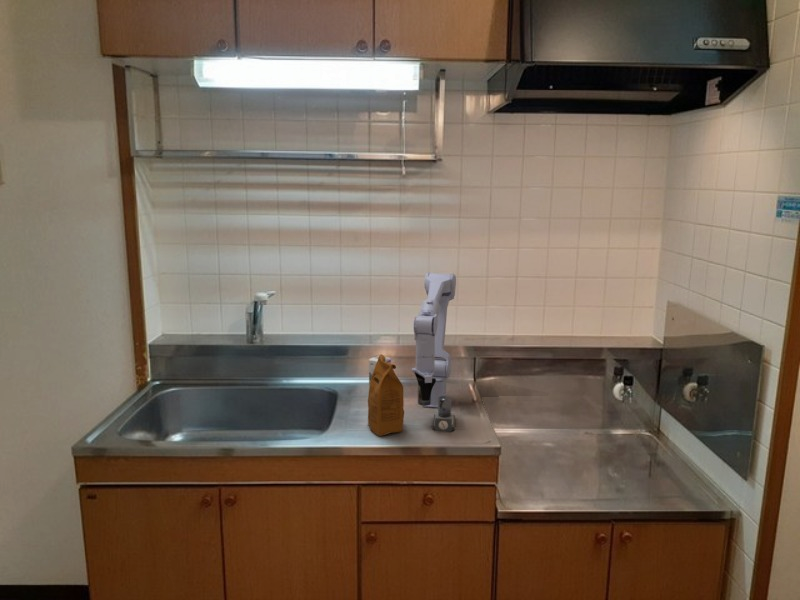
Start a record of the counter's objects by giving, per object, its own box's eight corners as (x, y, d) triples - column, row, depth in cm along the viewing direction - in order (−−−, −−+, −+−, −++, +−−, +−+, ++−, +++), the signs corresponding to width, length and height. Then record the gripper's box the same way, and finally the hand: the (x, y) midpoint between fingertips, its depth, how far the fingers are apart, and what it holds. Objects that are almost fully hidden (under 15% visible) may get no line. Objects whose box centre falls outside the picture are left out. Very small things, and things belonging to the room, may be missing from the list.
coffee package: (394, 418, 186) (394, 351, 181) (407, 434, 174) (407, 363, 170) (364, 421, 183) (363, 354, 178) (374, 438, 171) (374, 366, 167)
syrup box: (391, 397, 203) (391, 357, 200) (382, 403, 198) (382, 361, 195) (378, 394, 206) (378, 354, 203) (368, 399, 201) (368, 359, 198)
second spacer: (417, 400, 182) (417, 384, 180) (429, 400, 182) (430, 383, 181) (418, 405, 178) (418, 388, 176) (431, 405, 178) (431, 388, 177)
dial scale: (434, 417, 187) (434, 406, 186) (455, 418, 186) (455, 407, 185) (432, 431, 176) (432, 420, 176) (454, 432, 176) (454, 421, 175)
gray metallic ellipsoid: (438, 412, 186) (438, 395, 185) (451, 412, 186) (451, 396, 185) (437, 417, 182) (438, 400, 181) (450, 417, 182) (451, 401, 181)
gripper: (409, 348, 183) (408, 389, 186) (415, 362, 169) (414, 406, 172) (431, 347, 184) (430, 388, 187) (439, 361, 170) (438, 406, 173)
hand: (424, 397), depth 179 cm, fingers closed on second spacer, 4 cm apart
